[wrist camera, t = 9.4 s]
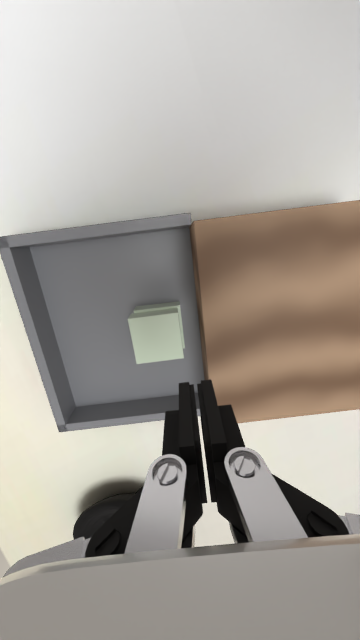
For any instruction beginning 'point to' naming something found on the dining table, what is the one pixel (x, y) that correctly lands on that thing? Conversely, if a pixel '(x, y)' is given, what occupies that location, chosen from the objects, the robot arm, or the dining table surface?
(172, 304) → the tile
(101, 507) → the oil lamp
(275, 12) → the dining table surface
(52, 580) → the robot arm
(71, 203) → the dining table surface
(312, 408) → the brown wooden box
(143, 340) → the tile
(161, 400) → the bin
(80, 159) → the dining table surface
